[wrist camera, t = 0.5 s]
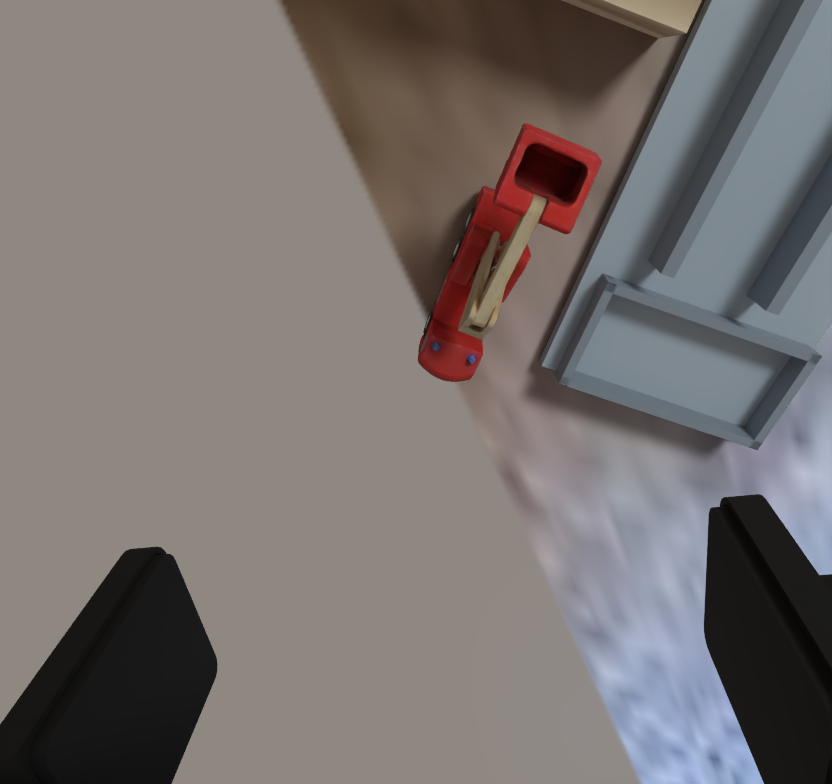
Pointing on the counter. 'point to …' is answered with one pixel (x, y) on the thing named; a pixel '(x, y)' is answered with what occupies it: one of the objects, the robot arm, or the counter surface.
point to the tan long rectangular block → (645, 14)
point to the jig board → (717, 233)
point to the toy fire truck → (503, 245)
